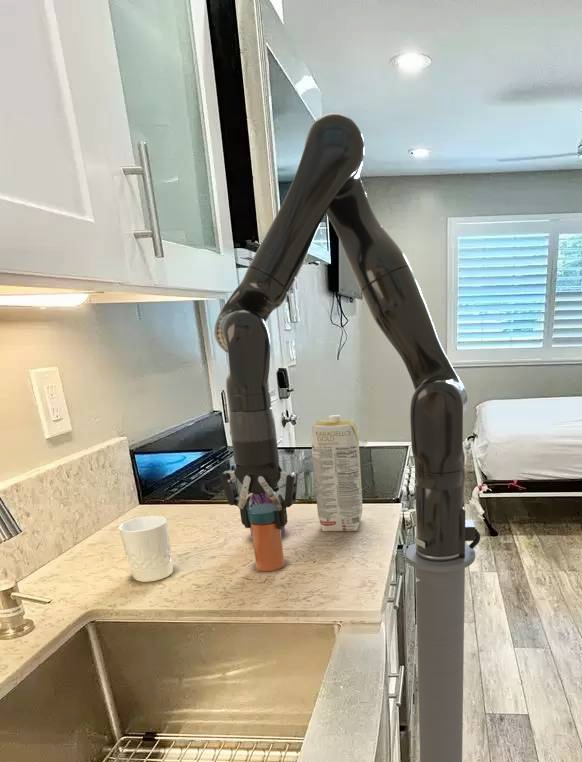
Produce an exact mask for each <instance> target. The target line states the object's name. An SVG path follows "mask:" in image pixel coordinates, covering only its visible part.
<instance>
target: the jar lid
mask: <svg viewBox="0 0 582 762" xmlns="http://www.w3.org/2000/svg"><path fill="white" fill-rule="evenodd" d="M275 510H276V508H275V506H274V504H268V503H267V504H258V505H254V506H251V507H250V508H248V509H247V514H248V520H249V522H251V523H255V524H265V523H271V522H274V521H276V514H275Z"/></svg>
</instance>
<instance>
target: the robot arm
mask: <svg viewBox="0 0 582 762" xmlns="http://www.w3.org/2000/svg"><path fill="white" fill-rule="evenodd" d="M304 142H305V143H304V147H303V151H302V155H301V158H300V161H299V164H298V167H297V170H296V173H295V174H294V178H293V180H292V182H291V184H290V187H289V189H288V191H287V193H286V195H285V198H284V200H283V201H282V204H281V206H280V208H279V210H278V211H277V213H276V215H275V217H274V219H273V221H272V223H271V224H270V227H269V228H268V230H267V231H266V234H264V237H263V239H262V241H261V242H260V244H259V246H258V248H257V250H256V252H255V254H254V256H253V257H252V260H251V262H250V263H249V265H248V268H247V269H246V272H245V274H244V276H243V278H242V280H241V281H240V283H239V284H238V286H237V287H236V288H235V290H234V291H233V292H232V294H231V295H230V297H229V298H228V300H227V301H226V302H225V303H224V306H223V307H222V308H221V310H220V312H219V313H218V316H217V318H216V321H215V323H214V327H213V329H214V332H213V334H214V338H215V341H216V343H217V345H218V347H220V349H221V350H223V352H225V353H227V356H228V366H229V374H228V375H227V376H226V379H225V390H226V398H227V399H226V400H227V406H228V414H229V416H228V420H229V421H228V423H229V424H228V425H229V435H230V437H231V445H232V446H231V447H232V453H233V454H232V455H233V461H234V463H235V468H234V469H233V470H230V469H227V470H225V471H223V472H221V473H220V474H219V479H220V482H221V485H222V488H223V491H224V494H225V498H226V501H227V503H228V506H236V507H237V508H238V509H239V513H240V520H241V521H240V522H241V524H242V525H243V526H244V529H250V527H251V526H250V522H249V520H248V514H247V509H248V508H250V507H251V506H249V503H250V500H251V497H252V494H253V493H257V492H259V493H263V494H267V496H268V498H269V499H270V500H271V501H272V502H273V504H274V506H275V508H276V510H275V514H276V523H277V529H283V528H284V527H285V526H286V525H287V524H288V513H287V509H288V508H291V507H292V506H293V505H294V504H295V503H296V501H297V490H298V477H299V474H298V472H297V471H295V470H293V471H291V472H288V471H284V470H283V468H282V467H281V466H280V457H279V449H278V448H279V446H278V440H277V439H278V438H277V437H278V436H277V430H276V421H275V417H274V412H273V407H272V399H271V387H270V383H269V376H270V368H271V367H270V366H271V365H270V364H271V350H272V349H271V337H270V333H269V328H268V326H267V323H266V322H267V320H268V318H269V317H270V315H271V314H272V313H273V312H274V310H277V309H278V308H279V307H281V306H282V304H283V303H284V302H285V300H286V299H287V297H288V295H289V293H290V291H291V289H292V287H293V286H294V283H295V282H296V280H297V277H298V276H299V274H300V272H301V270H302V267H303V266H304V263H305V261H306V258H307V256H308V255H309V251H310V249H311V247H312V244H313V242H314V239H315V237H316V234H317V232H318V230H319V227H320V226H321V223H322V222H323V219H324V218H325V215H326V216H327V218H328V220H329V222H330V223H331V225H332V227H333V229H334V231H335V233H336V236H337V237H338V240H339V242H340V244H341V247H342V250H343V252H344V255H345V258H346V260H347V262H348V265H349V267H350V270H351V271H352V273H353V276H354V279H355V281H356V283H357V285H358V288H359V290H360V292H361V295H362V297H363V299H364V301H365V304H366V306H367V308H368V310H369V312H370V314H371V316H372V318H373V320H374V321H375V323H376V325H377V326H378V328H379V329H380V331H381V332H382V334H383V335H384V336H385V338H386V339H387V340H388V342H389V343H390V344H391V346H392V347H393V348H394V350H395V351H396V352H397V354H398V355H399V356H400V358H401V361H403V363H404V366H405V367H406V370H407V372H408V374H409V378H410V380H411V382H412V386H413V388H414V392H413V394H412V397H411V400H410V407H409V408H410V409H409V417H410V418H409V419H410V420H409V421H410V439H411V440H410V441H411V453H412V456H413V460H414V486H415V487H414V489H415V491H414V492H415V493H414V494H415V533H416V534H415V536H413V542H414V543H413V544H415V543H416V554H417V555H418V556H419V557H420V558H422V559H425V560H429V561H436V562H444V561H452V560H455V559H458V558H465V543H466V542H470V544H468V545H469V547H470V548H471V549H475V547H476V546H477V545H479V543H480V541H481V534H480V532H479V531H478V529H477V528H476V524H475V522H474V519H466V508H465V487H466V486H465V480H466V477H465V475H466V454H465V450H464V415H465V414H466V412H467V408H468V395H467V394H468V393H467V391H466V389H465V386H464V384H463V383H462V381H461V380H460V377H459V376H458V374H457V373H456V371H455V369H454V368H453V365H452V364H451V362H450V360H449V359H448V356H447V355H446V353H445V351H444V349H443V347H442V345H441V342H440V340H439V338H438V335H437V332H436V329H435V325H434V323H433V321H432V317H431V315H430V312H429V309H428V307H427V304H426V301H425V299H424V297H423V294H422V291H421V288H420V286H419V284H418V281H417V279H416V277H415V275H414V272H413V269H412V267H411V266H410V265H411V264H410V263H409V261H408V259H407V257H406V255H405V253H404V252H403V251H402V249H401V248H400V247H399V245H398V244H397V242H396V241H395V239H393V237H391V235H390V234H389V233H388V232H387V230H386V229H385V228H384V227H383V226H382V224H381V223H380V221H379V220H378V218H377V217H376V215H375V213H374V211H373V208H372V206H371V203H370V201H369V198H368V195H367V193H366V191H365V188H364V184H363V182H362V177H361V175H360V174H361V170H362V167H363V164H364V159H365V142H364V137H363V134H362V131H361V130H360V128H359V126H358V125H357V124H356V122H355V121H354V120H353V119H352V118H350V117H349V116H347V115H345V114H343V113H339V112H329V113H326V114H323V115H321V116H320V117H318V118H317V119H316V120H315V121H314V122H313V123H312V124H311V126H310V128H309V130H308V132H307V135H306V138H305V141H304ZM280 479H282V482H283V485H285V493H284V495H283V490H282V488H281V487H280V484H279V481H280ZM237 480H238V481H239V482H240V485H241V489H240V492H239V489H238V487H237V484H236V481H237ZM285 528H286V527H285Z"/></svg>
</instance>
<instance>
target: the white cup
mask: <svg viewBox="0 0 582 762" xmlns="http://www.w3.org/2000/svg"><path fill="white" fill-rule="evenodd" d="M118 530H119V534H120V537H121V541H122V545H123V548H124V551H125V555H126V557H127V561H128V564H129V566H130V569H131V573H132V577H133V579H134V580H135V581H137V582H143V583H147V582H148V583H149V582H155V581H160V580H163V579H165V578H168V577H169V576H171V574H172V573H174V572H173V571H174V568H173V560H172V556H173V555H172V547H171V541H170V533H169V527H168V520H167V518H166V517H164V516H160V515H149V516H148V515H146V516H138V517H135V518H131V519H128V520H126V521H124V522H122V523H120V524H119V525H118Z"/></svg>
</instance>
